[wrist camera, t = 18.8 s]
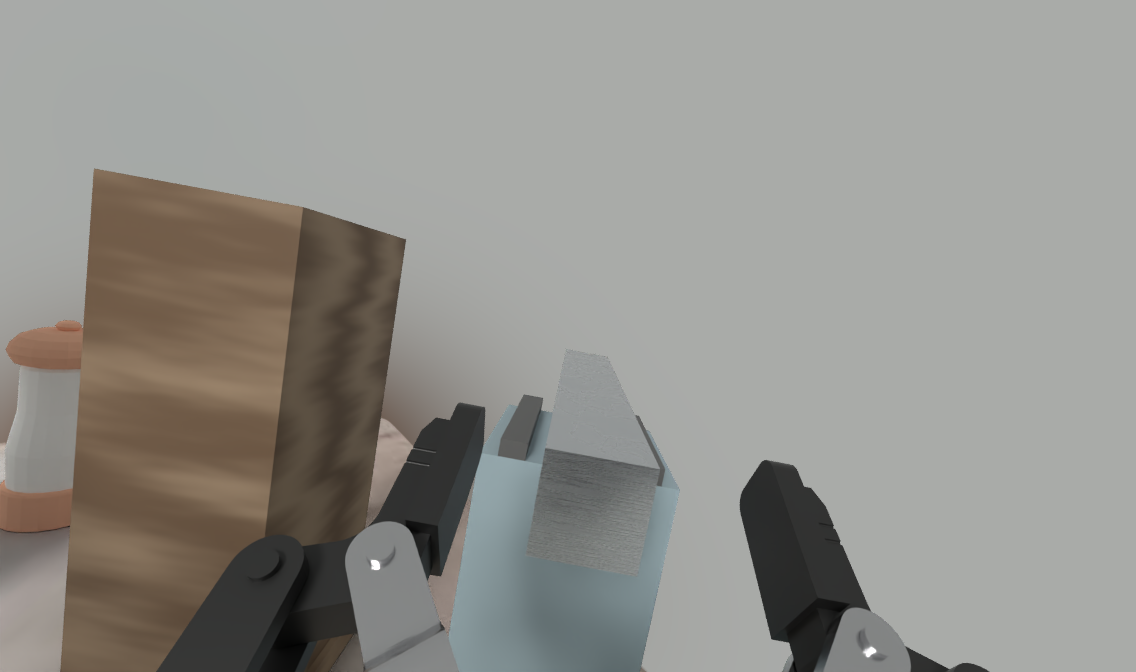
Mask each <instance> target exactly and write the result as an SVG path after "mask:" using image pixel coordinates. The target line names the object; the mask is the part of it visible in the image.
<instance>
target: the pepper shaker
mask: <svg viewBox="0 0 1136 672" xmlns="http://www.w3.org/2000/svg"><path fill="white" fill-rule="evenodd" d="M55 326H56V327H44V328H38V329H33V330H30V331H26V332H22V333H20V334H18V335H17V336H16V337H14V338H13V339H12V340H11V341H10V342H9V344H8V346H7V348H6V351H7V353H8V355H9V357H10V358H11V360H12V361H13V362H14V363H16V364H19V365H20V374H19V390H18V404H17V405H18V406H17V412H16V415H15V418H14V421H13V425H12V428H11V431H10V434H9V437H8V441H7V444H6V447H5V480H3V482H2V483H1V484H0V528H1V529H3V530H5V531H12V532H39V531H45V530H52V529H58V528H62V527H66V526H70V521H71V506H72V491H73V476H74V461H75V446H76V431H77V416H78V401H79V386H80V371H81V356H82V341H83V328H81V327H82V326H81V324H80V323H79V322H75V321H68V320H65V321H60V322H58V323H57V324H56V325H55Z"/></svg>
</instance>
